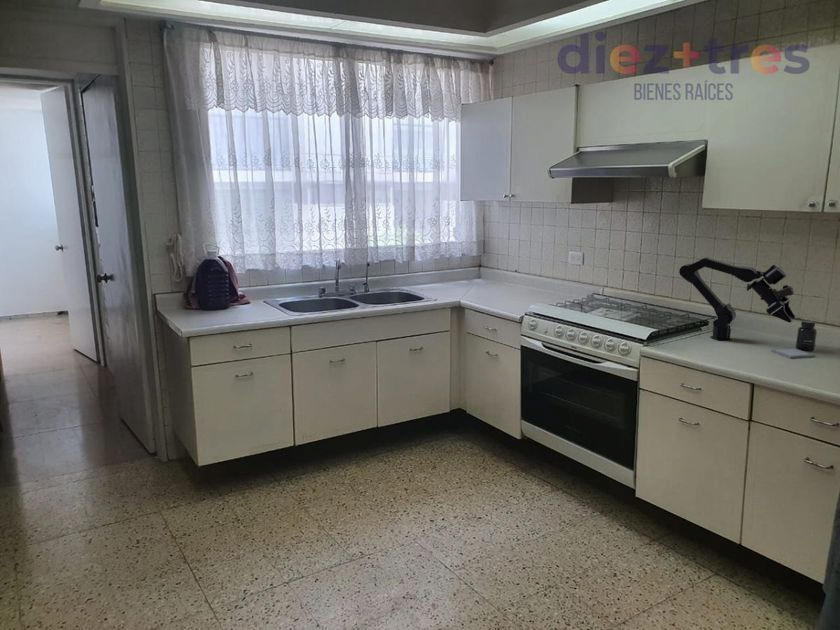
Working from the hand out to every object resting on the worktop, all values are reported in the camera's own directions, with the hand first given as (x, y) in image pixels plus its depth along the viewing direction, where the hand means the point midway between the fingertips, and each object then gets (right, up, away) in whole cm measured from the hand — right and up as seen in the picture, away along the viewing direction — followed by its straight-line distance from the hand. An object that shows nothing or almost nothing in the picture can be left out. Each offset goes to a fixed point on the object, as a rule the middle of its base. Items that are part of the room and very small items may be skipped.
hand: (792, 320), depth 261 cm
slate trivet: (-4, -14, -7) cm, 16 cm away
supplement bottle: (+5, -13, -1) cm, 13 cm away
